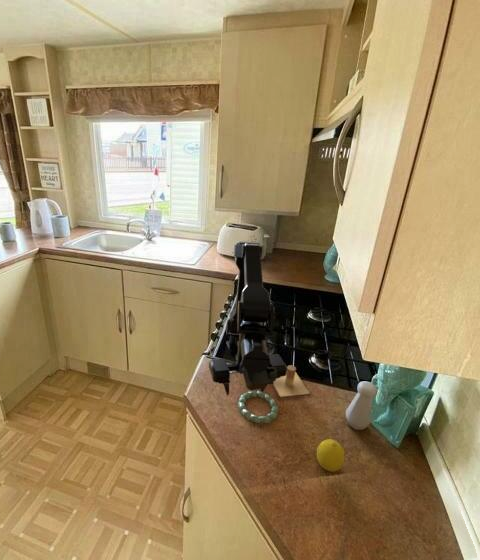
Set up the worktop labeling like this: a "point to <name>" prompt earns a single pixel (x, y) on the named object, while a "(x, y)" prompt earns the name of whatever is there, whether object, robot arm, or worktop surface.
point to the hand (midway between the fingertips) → (244, 392)
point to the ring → (255, 418)
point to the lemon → (330, 455)
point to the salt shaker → (361, 406)
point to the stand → (290, 384)
